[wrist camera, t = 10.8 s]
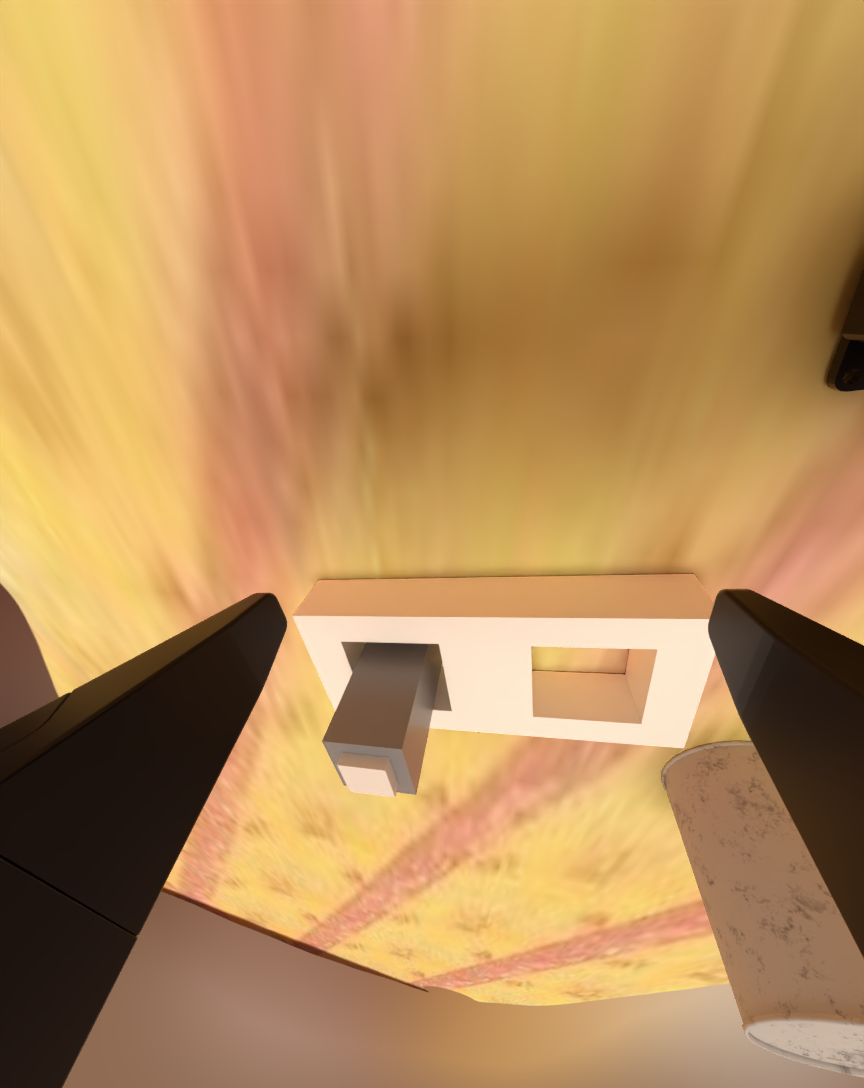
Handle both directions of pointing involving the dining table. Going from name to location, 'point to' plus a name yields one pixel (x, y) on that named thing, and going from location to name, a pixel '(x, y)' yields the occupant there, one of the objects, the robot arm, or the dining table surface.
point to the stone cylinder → (769, 909)
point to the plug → (385, 718)
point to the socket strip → (505, 649)
